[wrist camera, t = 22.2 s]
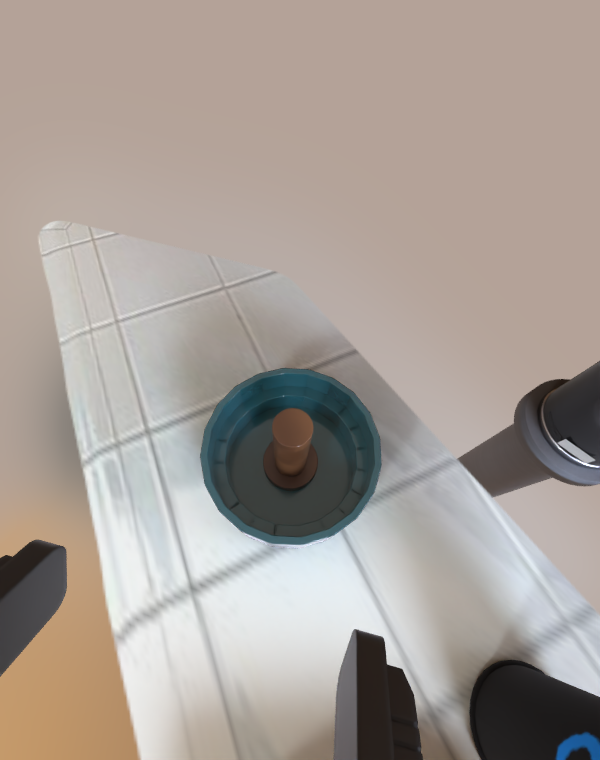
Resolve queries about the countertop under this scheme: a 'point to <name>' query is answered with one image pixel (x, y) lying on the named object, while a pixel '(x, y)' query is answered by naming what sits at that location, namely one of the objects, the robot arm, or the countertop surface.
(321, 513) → the bowl
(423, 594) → the countertop surface
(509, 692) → the aerosol can
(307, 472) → the brown wooden peg
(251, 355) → the countertop surface
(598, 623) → the countertop surface
